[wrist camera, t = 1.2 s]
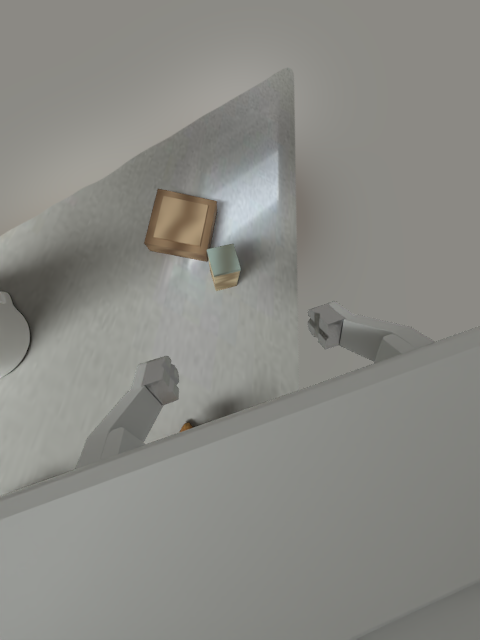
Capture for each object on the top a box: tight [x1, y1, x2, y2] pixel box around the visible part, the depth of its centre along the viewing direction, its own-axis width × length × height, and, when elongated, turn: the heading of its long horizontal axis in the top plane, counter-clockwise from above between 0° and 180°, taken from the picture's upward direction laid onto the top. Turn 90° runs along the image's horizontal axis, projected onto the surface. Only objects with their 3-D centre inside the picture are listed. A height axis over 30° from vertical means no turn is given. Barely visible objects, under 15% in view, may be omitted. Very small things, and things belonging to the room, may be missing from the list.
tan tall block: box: [207, 244, 241, 291], centre depth 36 cm, size 5×5×9 cm
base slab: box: [144, 189, 217, 261], centre depth 39 cm, size 12×12×3 cm
